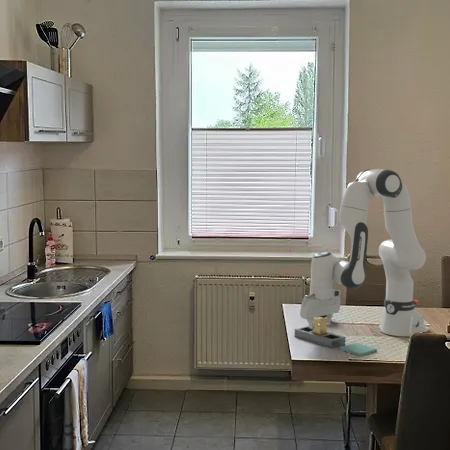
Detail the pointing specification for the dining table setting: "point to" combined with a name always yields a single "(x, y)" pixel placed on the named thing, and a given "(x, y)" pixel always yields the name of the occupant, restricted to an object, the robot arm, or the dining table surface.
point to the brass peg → (320, 326)
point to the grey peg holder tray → (320, 337)
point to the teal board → (358, 349)
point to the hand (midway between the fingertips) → (319, 326)
